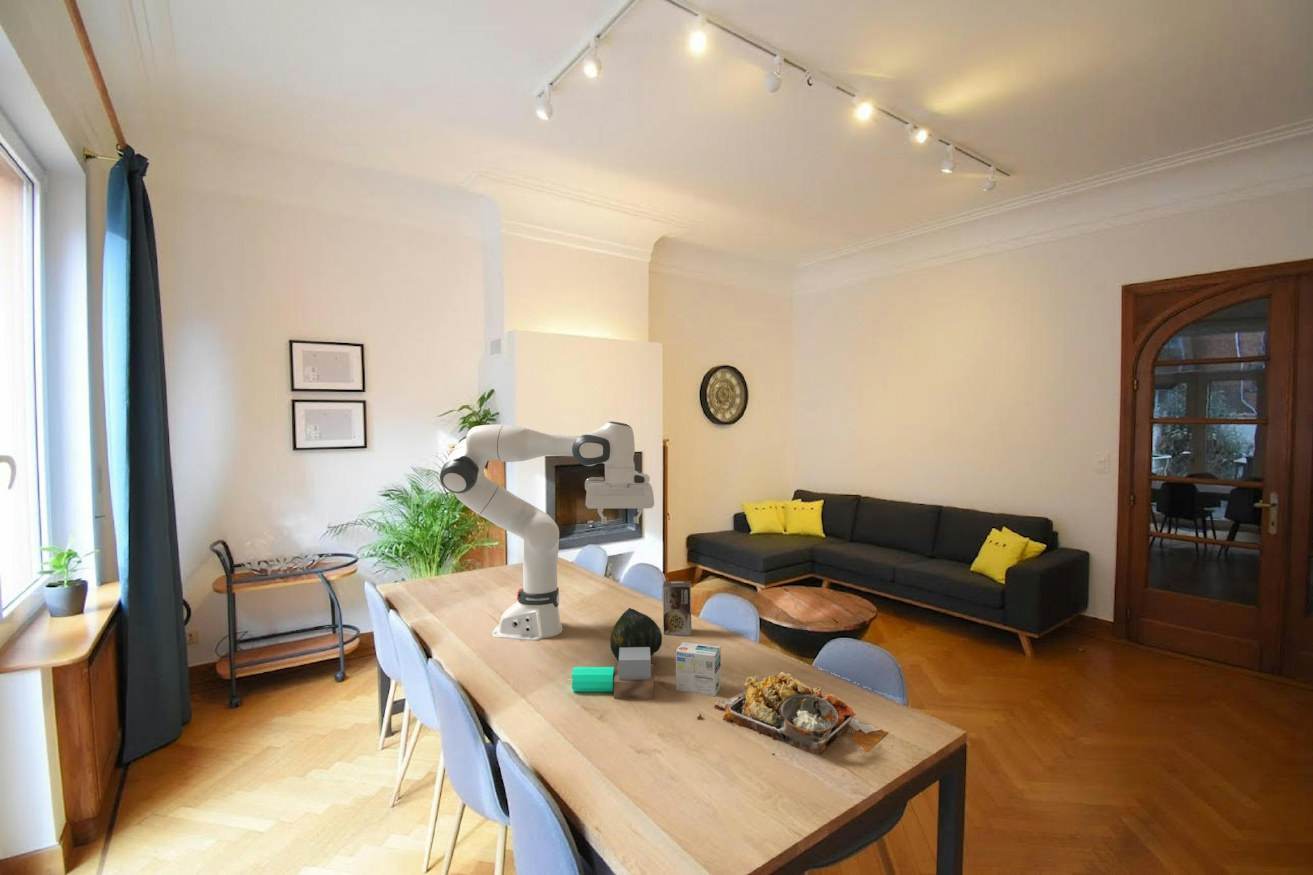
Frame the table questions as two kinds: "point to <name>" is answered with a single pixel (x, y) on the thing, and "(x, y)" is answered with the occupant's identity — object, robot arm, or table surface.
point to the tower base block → (633, 687)
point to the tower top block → (634, 663)
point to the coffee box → (677, 608)
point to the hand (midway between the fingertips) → (620, 523)
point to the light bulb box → (698, 668)
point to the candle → (593, 679)
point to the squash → (635, 633)
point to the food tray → (796, 714)
